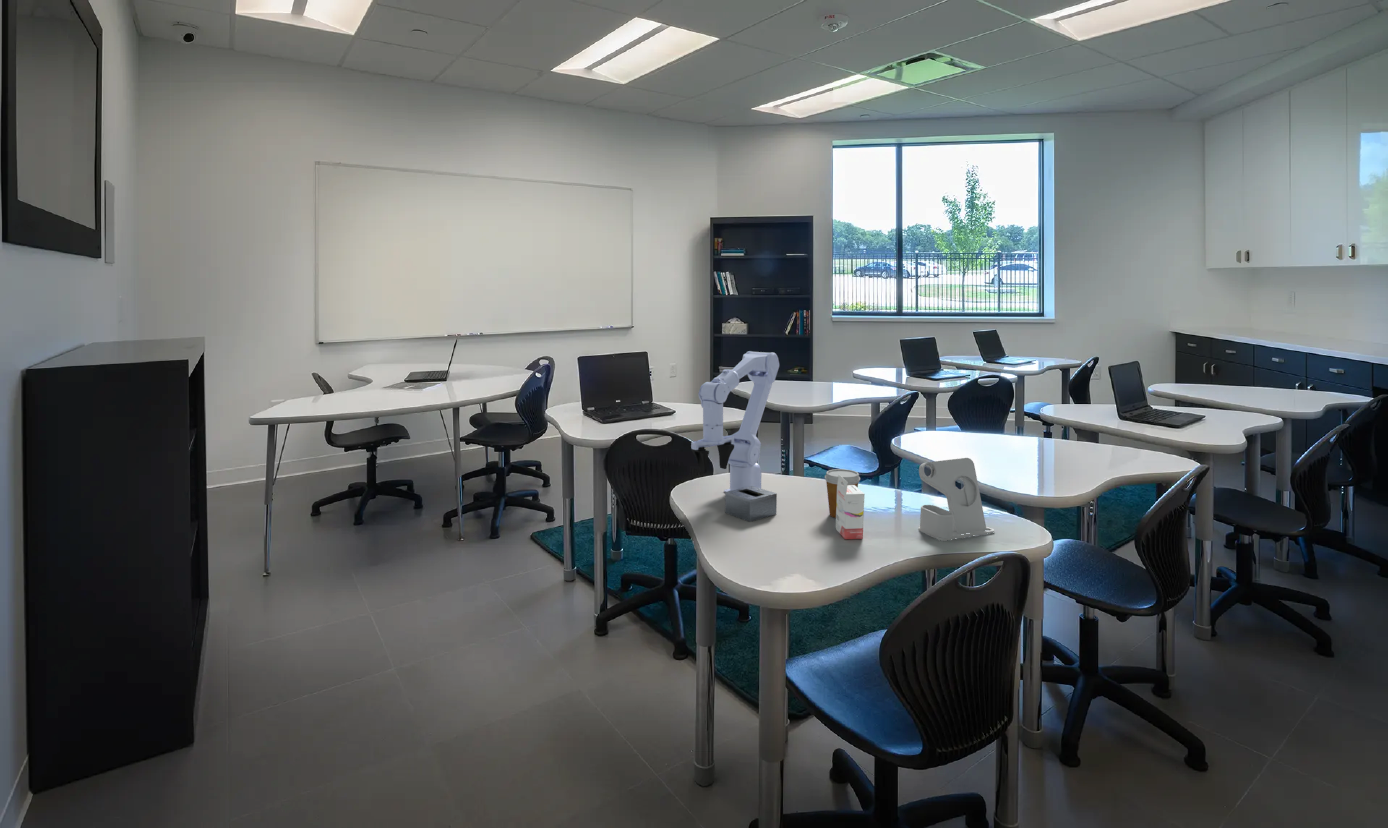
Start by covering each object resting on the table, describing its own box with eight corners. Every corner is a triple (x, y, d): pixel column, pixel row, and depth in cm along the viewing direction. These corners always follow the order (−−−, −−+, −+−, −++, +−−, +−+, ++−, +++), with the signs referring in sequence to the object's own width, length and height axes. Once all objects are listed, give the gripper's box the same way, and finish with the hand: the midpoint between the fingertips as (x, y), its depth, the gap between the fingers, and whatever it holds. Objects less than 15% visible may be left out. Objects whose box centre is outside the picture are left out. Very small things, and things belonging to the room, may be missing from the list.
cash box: (751, 506, 205) (751, 485, 204) (776, 514, 197) (776, 493, 196) (725, 512, 198) (725, 492, 197) (749, 521, 191) (749, 500, 190)
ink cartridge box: (864, 539, 177) (866, 482, 174) (844, 540, 177) (846, 482, 174) (853, 528, 185) (855, 473, 183) (834, 528, 185) (836, 473, 182)
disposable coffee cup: (860, 512, 198) (862, 470, 196) (856, 522, 190) (858, 478, 187) (826, 508, 201) (827, 467, 199) (821, 519, 193) (822, 476, 191)
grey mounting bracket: (940, 542, 175) (944, 470, 172) (914, 529, 184) (917, 461, 181) (996, 533, 181) (1001, 464, 178) (968, 521, 190) (972, 455, 187)
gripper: (702, 429, 195) (702, 477, 198) (741, 423, 204) (741, 469, 207) (686, 425, 201) (686, 472, 203) (725, 419, 210) (725, 464, 212)
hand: (713, 470), depth 205 cm, fingers open, 7 cm apart
